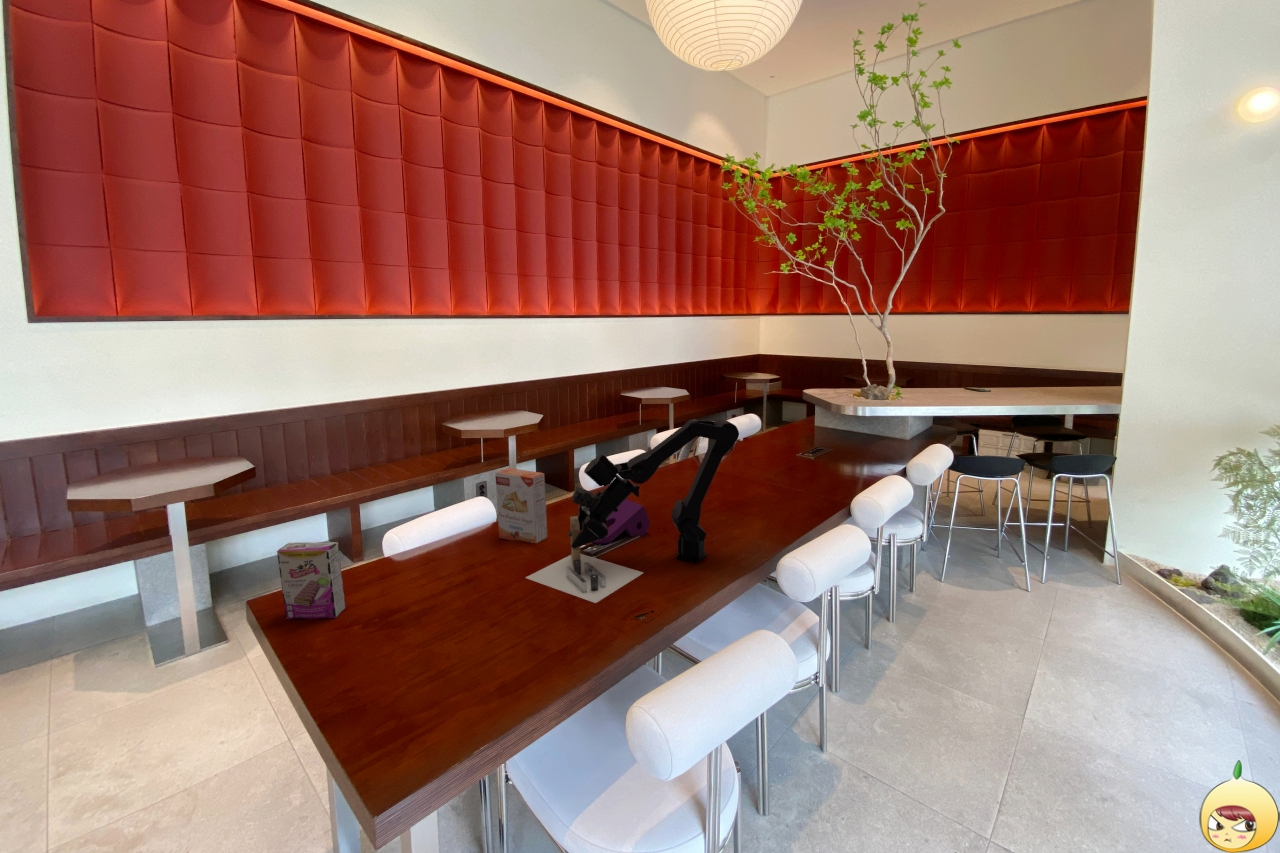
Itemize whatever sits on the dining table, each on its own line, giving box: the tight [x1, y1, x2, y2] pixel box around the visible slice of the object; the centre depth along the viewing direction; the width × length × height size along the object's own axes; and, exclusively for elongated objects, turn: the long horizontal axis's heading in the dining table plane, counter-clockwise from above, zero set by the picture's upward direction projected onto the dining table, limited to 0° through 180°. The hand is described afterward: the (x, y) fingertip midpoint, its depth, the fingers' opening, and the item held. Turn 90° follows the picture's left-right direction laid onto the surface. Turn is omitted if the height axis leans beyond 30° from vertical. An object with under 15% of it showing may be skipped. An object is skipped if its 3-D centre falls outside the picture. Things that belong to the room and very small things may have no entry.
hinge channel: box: [566, 560, 606, 593], centre depth 142 cm, size 6×12×4 cm, turn 30°
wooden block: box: [567, 515, 581, 569], centre depth 151 cm, size 3×6×12 cm, turn 10°
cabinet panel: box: [525, 553, 644, 604], centre depth 146 cm, size 23×19×1 cm
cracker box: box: [495, 467, 548, 544], centre depth 170 cm, size 14×6×21 cm, turn 62°
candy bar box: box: [276, 541, 346, 620], centre depth 129 cm, size 11×5×16 cm, turn 92°
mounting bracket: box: [592, 498, 651, 545], centre depth 173 cm, size 9×8×18 cm
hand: (571, 540), depth 151 cm, fingers open, 9 cm apart
